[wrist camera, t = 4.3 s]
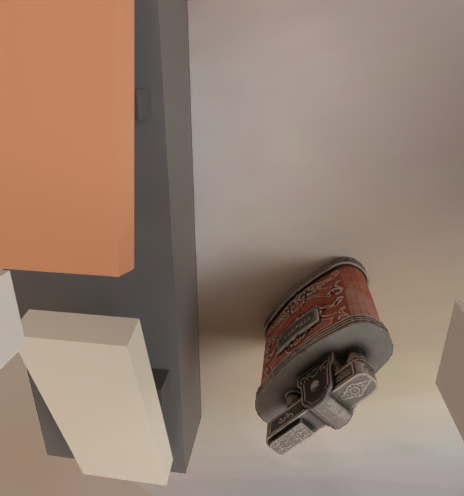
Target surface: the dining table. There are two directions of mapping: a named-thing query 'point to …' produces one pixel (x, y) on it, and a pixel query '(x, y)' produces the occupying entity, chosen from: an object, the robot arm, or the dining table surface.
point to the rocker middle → (67, 136)
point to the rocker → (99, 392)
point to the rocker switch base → (147, 237)
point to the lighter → (320, 354)
